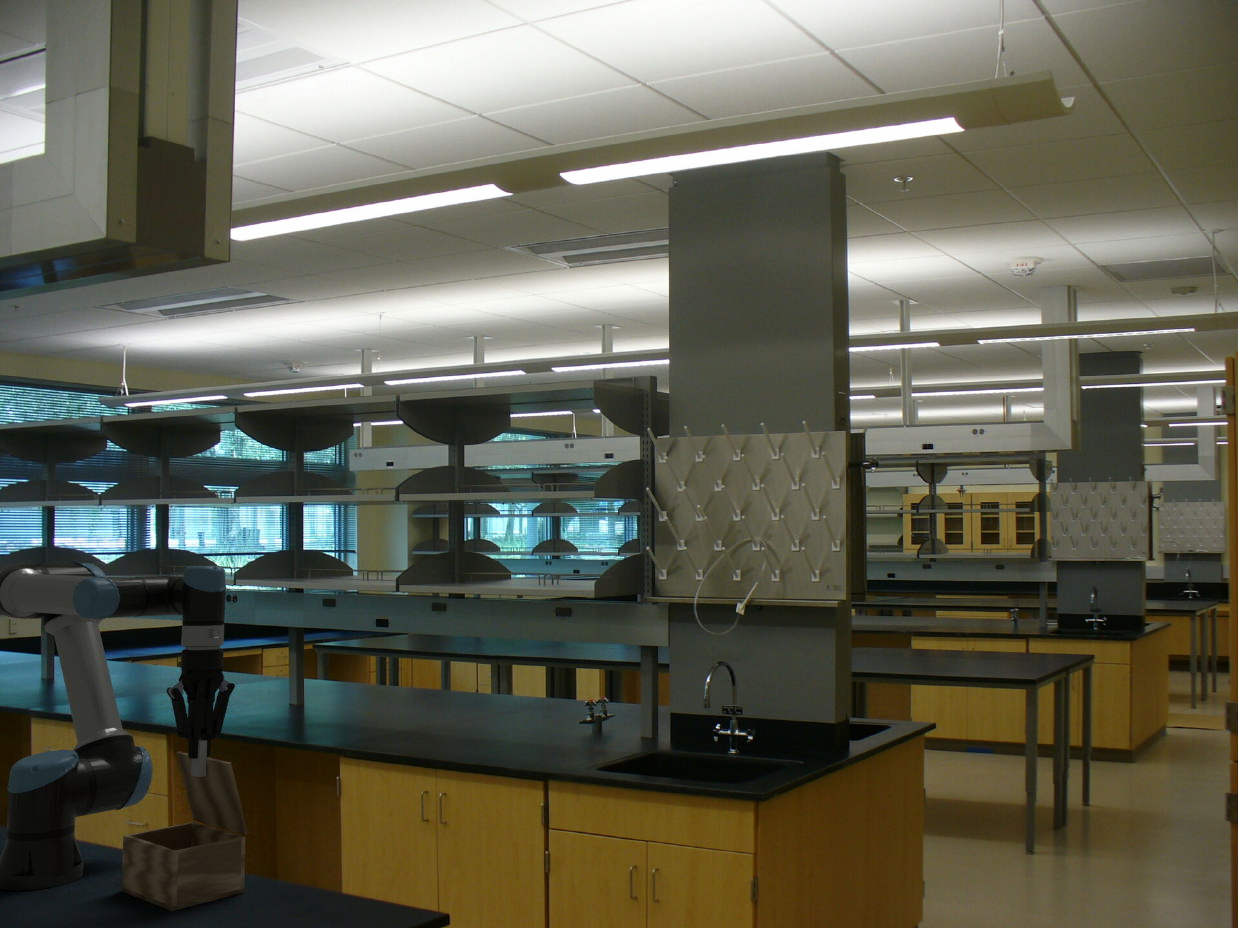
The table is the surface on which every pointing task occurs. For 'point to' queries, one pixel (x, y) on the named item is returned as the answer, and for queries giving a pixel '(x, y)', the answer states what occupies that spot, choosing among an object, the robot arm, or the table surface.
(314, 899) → the table surface
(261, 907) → the table surface
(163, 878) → the brown wooden box
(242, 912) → the table surface
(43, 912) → the table surface
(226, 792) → the lid
